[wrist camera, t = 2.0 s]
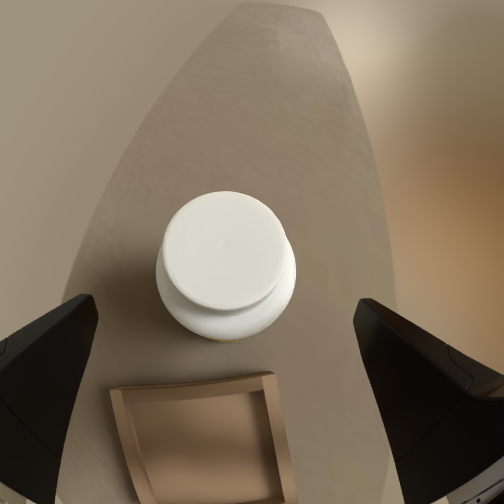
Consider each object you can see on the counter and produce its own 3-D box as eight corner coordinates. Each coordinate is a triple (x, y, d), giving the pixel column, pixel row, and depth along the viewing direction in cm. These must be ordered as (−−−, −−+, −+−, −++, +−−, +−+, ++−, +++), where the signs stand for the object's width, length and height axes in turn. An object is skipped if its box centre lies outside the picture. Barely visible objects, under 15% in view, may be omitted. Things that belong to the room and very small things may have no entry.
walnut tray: (292, 495, 14) (299, 507, 12) (153, 507, 12) (147, 520, 10) (270, 371, 17) (275, 373, 15) (120, 386, 15) (109, 389, 14)
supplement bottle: (175, 273, 18) (125, 195, 9) (253, 250, 19) (276, 155, 10) (199, 354, 17) (161, 360, 7) (281, 327, 18) (340, 300, 8)
